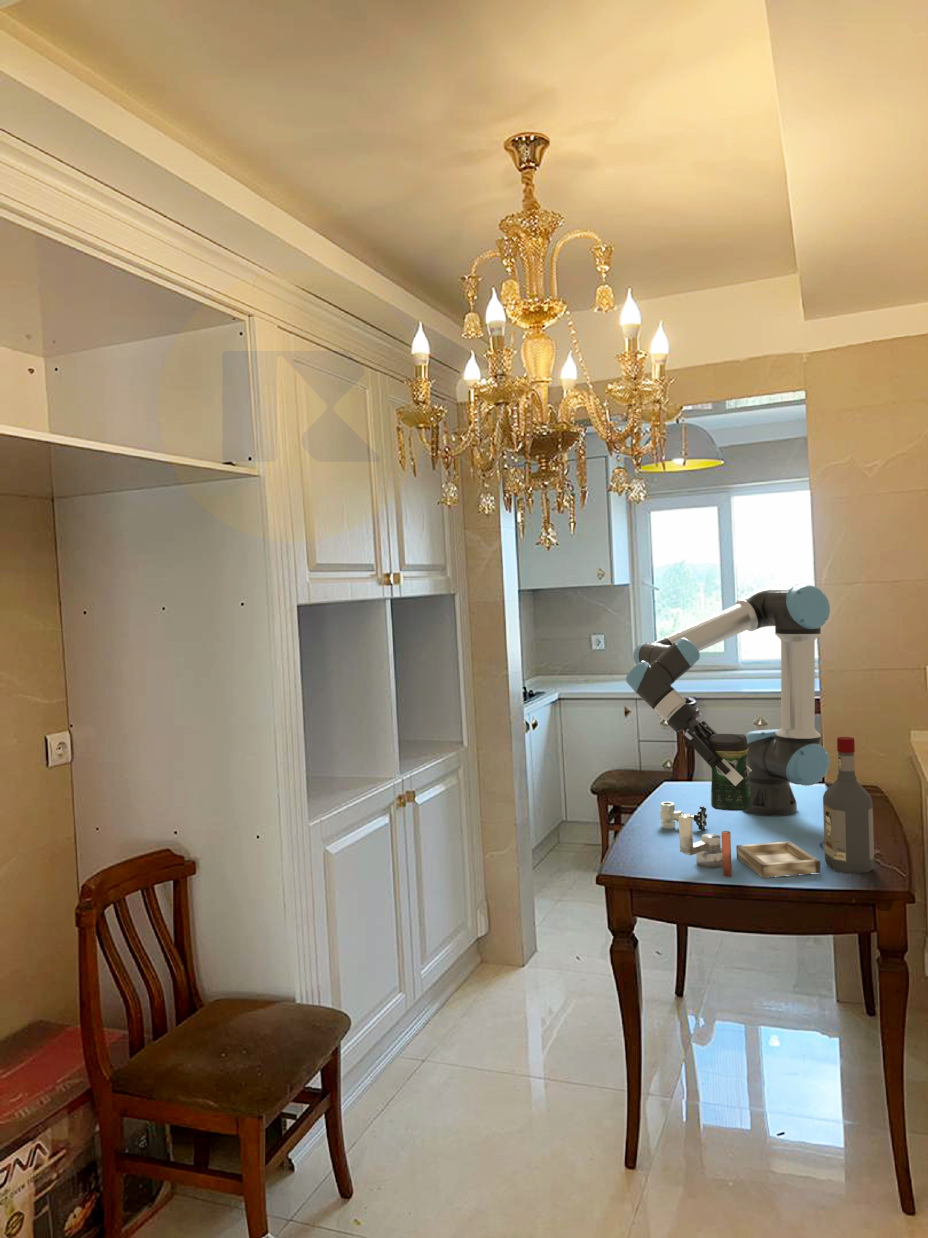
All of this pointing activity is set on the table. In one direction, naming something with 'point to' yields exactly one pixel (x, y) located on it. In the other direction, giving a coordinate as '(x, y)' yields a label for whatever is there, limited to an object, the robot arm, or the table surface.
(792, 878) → the table surface
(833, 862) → the liquor
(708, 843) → the crank
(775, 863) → the tray
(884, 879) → the table surface
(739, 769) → the coffee jar
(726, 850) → the crank base
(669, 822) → the valve
